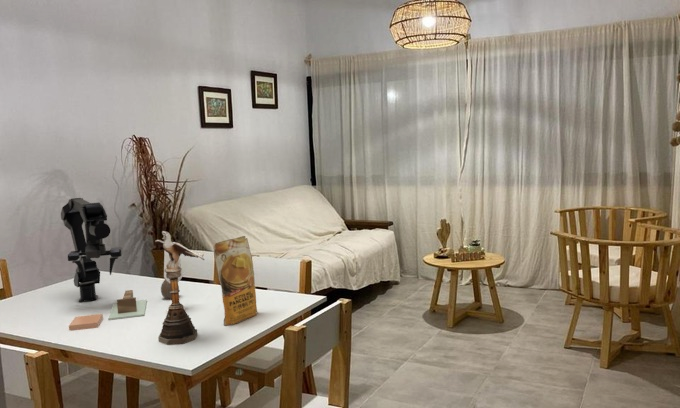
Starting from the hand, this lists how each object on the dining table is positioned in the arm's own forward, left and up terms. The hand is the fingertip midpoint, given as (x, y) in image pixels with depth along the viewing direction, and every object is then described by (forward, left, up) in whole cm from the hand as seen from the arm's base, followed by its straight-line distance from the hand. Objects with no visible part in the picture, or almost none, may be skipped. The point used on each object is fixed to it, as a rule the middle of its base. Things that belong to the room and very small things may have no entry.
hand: (97, 276), depth 213 cm
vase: (-1, +26, -12) cm, 29 cm away
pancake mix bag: (+37, +49, -12) cm, 63 cm away
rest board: (+10, +11, -12) cm, 19 cm away
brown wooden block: (+9, +11, -11) cm, 18 cm away
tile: (+17, -2, -11) cm, 20 cm away
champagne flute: (+17, +28, -12) cm, 35 cm away
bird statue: (+47, +30, -12) cm, 57 cm away
